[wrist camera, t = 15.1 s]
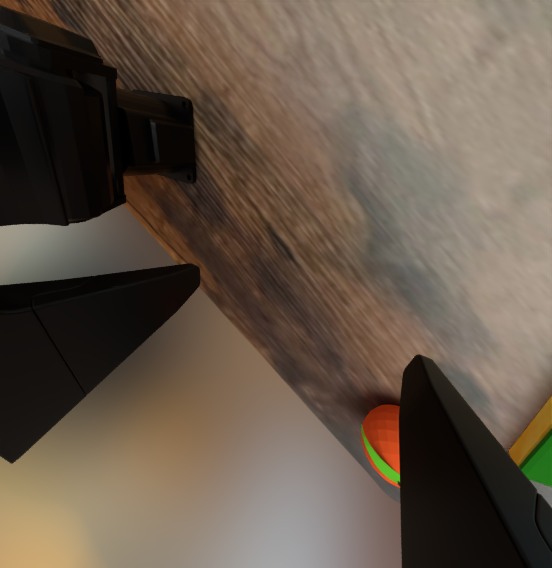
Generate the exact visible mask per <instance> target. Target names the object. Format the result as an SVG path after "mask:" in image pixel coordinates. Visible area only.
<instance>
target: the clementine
mask: <svg viewBox="0 0 552 568" xmlns="http://www.w3.org/2000/svg"><path fill="white" fill-rule="evenodd" d="M399 408H400V406H397V405H381V406H378V407H376V408H374V409H373V410H371V411H370V412H369V413H368V415H367V416H366V418H365V419H364V421H363V425H361V429H362V430H361V438H362V444H363V448H364V451H365V454H366V456H367V458H368V460H369V462H370V463H371V465H372V466H373V468H374V469H375V470H376V471H377V472H378V473H379V474H380V475H381V476H382V477H383V478H384V479H385V480H386V481H388V482H389V483H391V484H393V485H395V486H397V487H399V488H400V460H399Z"/></svg>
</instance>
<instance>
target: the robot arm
mask: <svg viewBox="0 0 552 568" xmlns="http://www.w3.org/2000/svg"><path fill="white" fill-rule="evenodd" d="M116 79H117V68H115V67H113V66H111V65H109V64H107V63H105V62H103V59H102V58H101V56H100V55H99V54H98V52H97V50H96V48H95V46H94V44H93V42H92V41H91V40H89V39H87V38H85V37H83V36H81V35H78V34H76V33H73V32H71V31H68V30H66V29H64V28H61V27H59V26H56V25H54V24H51V23H49V22H46V21H43V20H41V19H38V18H35V17H32V16H29V15H27V14H24V13H21V12H18V11H15V10H12V9H10V8H7V7H4V6H1V5H0V226H6V225H17V224H50V225H61V226H68V225H69V224H70V223H79V222H85V221H87V220H90V219H92V218H95V217H98V216H100V215H101V214H103V213H105V212H107V211H109V210H111V209H113V208H115V207H117V206H119V205H121V204H124V203H126V195H125V193H124V181H123V176H135V175H151V174H158V175H162V176H166V177H169V178H173V179H176V180H180V181H184V182H187V183H194V182H195V181H196V168H195V148H194V127H193V106H192V102H191V101H190V99H188V98H185V97H180V96H174V95H167V94H160V93H153V92H146V91H140V90H133V91H132V92H130V91H126V90H123V89H119V88H116ZM185 104H187V107H186V106H185ZM190 176H191V179H190ZM199 285H200V269H199V267H198V266H196V265H194V264H182V265H174V266H166V267H158V268H151V269H143V270H135V271H127V272H120V273H112V274H105V275H97V276H95V277H94V276H89V277H82V278H72V279H64V280H55V281H44V282H33V283H21V284H11V285H0V456H1V457H2V458H4V459H5V460H7V461H8V462H10V463H14V462H15V461H16V460H18V459H19V458H20V457H21V456H22V455H23V454H24V453H26V452H27V451H28V450H29V449H30V448H31V447H32V446H33V445H34V444H35V443H36V442H37V441H38V440H39V439H41V438H42V437H43V436H44V435H45V434H46V433H47V432H48V431H49V430H50V429H51V428H52V427H53V426H54V425H56V424H57V423H58V422H59V421H60V420H61V419H62V418H63V417H64V416H65V415H66V414H67V413H68V412H69V411H71V410H72V409H73V408H74V407H75V406H76V405H77V404H78V403H79V402H80V401H81V400H82V399H84V397H86V395H87V394H89V393H90V392H91V391H92V390H93V389H94V388H95V387H96V386H97V385H98V384H99V383H100V382H102V381H103V380H104V379H105V378H106V377H107V376H108V375H109V374H110V373H111V372H112V371H113V370H114V369H115V368H117V367H118V366H119V365H120V364H121V363H122V362H123V361H124V360H125V359H126V358H127V357H128V356H130V355H131V354H132V353H133V352H134V351H135V350H136V349H137V348H138V347H139V346H140V345H141V344H142V343H144V342H145V341H146V340H147V338H149V337H150V336H151V335H152V334H153V333H154V332H155V331H156V330H157V329H158V328H160V327H161V326H162V325H163V324H164V323H165V322H166V321H167V320H168V319H169V318H170V317H171V316H173V315H174V314H175V313H176V312H177V311H178V310H179V309H180V307H181V306H182V305H183V304H184V303H185V302H186V301H187V300H188V298H189V297H190V296H191V295H192V294H193V293H194V292H195V290H196V289H197V288H198V287H199ZM399 460H400V504H401V549H402V568H552V508H551V506H550V505H549V504H548V503H547V501H546V500H545V499H544V498H543V497H542V495H541V494H539V493H537V489H536V488H535V487H534V485H533V484H532V483H531V482H530V481H529V479H528V478H527V477H526V476H525V474H524V473H523V472H522V471H521V469H520V468H519V467H518V466H517V464H516V463H515V462H514V461H513V459H512V458H511V457H510V456H509V454H508V453H507V452H506V451H505V449H504V448H503V447H502V446H501V444H500V443H499V442H498V441H497V439H496V438H495V437H494V436H493V435H492V433H491V432H490V431H489V430H488V428H487V427H486V426H485V425H484V423H483V422H482V421H481V420H480V418H479V417H478V416H477V415H476V413H475V412H474V411H473V410H472V408H471V407H470V406H469V405H468V403H467V402H466V401H465V400H464V398H463V397H462V396H461V395H460V394H459V392H458V391H457V390H456V389H455V387H454V386H453V385H452V384H451V382H450V381H449V380H448V379H447V377H446V376H445V375H444V374H443V372H442V371H441V370H440V369H439V367H438V366H437V365H436V364H435V362H434V361H433V360H432V359H430V358H428V357H425V356H423V355H420V354H419V355H416V356H415V357H414V358H413V359H412V361H411V362H410V363H409V364H408V366H407V367H406V368H405V370H404V372H403V379H402V388H401V398H400V408H399Z"/></svg>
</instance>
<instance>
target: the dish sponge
mask: <svg viewBox="0 0 552 568" xmlns="http://www.w3.org/2000/svg"><path fill="white" fill-rule="evenodd" d="M509 454H510V456H511V458H512V459H513V461H514V462H515V463H516V464H517V466H518V467H519V468H520V469H521V471H522V472H523V473H524V474H525V476H526V477H527V478H528V479H529V480H532V481H535V482H538V483H541V484H544V485H547V486H550V487H552V396H551V397H550V399H549V400H548V401H547V402H546V404H545V405H544V406H543V408H542V409H541V410H540V411H539V413H538V414H537V415H536V417H535V418H534V419H533V420H532V422H531V423H530V424H529V426H528V427H527V428H526V429H525V431H524V432H523V433H522V435H521V436H520V437H519V438H518V440H517V441H516V442H515V444H514V445H513V446H512V447H511V449H510V450H509Z"/></svg>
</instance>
